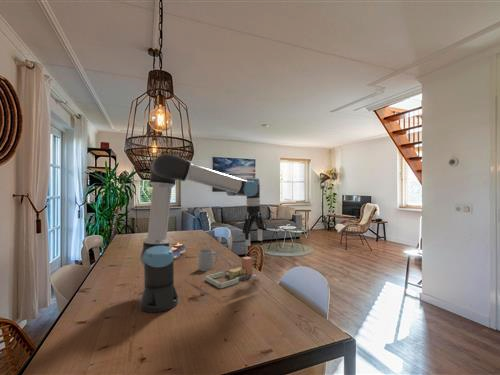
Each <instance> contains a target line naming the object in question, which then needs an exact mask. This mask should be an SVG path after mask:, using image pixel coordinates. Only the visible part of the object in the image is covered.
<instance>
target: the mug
mask: <svg viewBox="0 0 500 375" xmlns="http://www.w3.org/2000/svg"><path fill="white" fill-rule="evenodd" d="M214 256H215V260H214ZM218 258H219V256H218V253H217V252H216V251H213V249H209V248H208V249H207V248H206V249H200V250H199V251H198V271H199V272H207V271H212V270H213V269H214V264H216V263H217V262H218Z"/></svg>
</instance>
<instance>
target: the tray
mask: <svg viewBox="0 0 500 375" xmlns="http://www.w3.org/2000/svg"><path fill="white" fill-rule="evenodd" d="M224 273H225V272H224V271H218V272H217V273H212V274H208V275H205V276H204V278H205V279H204V280H205V281H206V283H207V282H208V283H209V284H210V285H213V286H214V287H216V288H218V289H223V288H227V287H230V286H232V285H236V284H238V283H239V282H240V281H239V278H237V279H233V280H231V279H229V280H227V281H224V282H220V281H218V280H215V279H217V278H221V277H225V274H224Z"/></svg>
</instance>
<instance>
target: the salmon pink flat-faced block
mask: <svg viewBox="0 0 500 375" xmlns="http://www.w3.org/2000/svg"><path fill="white" fill-rule="evenodd" d="M241 267H242V268H245V269H246V274H248V275H252V274H253V257H251V256H244V257H241Z"/></svg>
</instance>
